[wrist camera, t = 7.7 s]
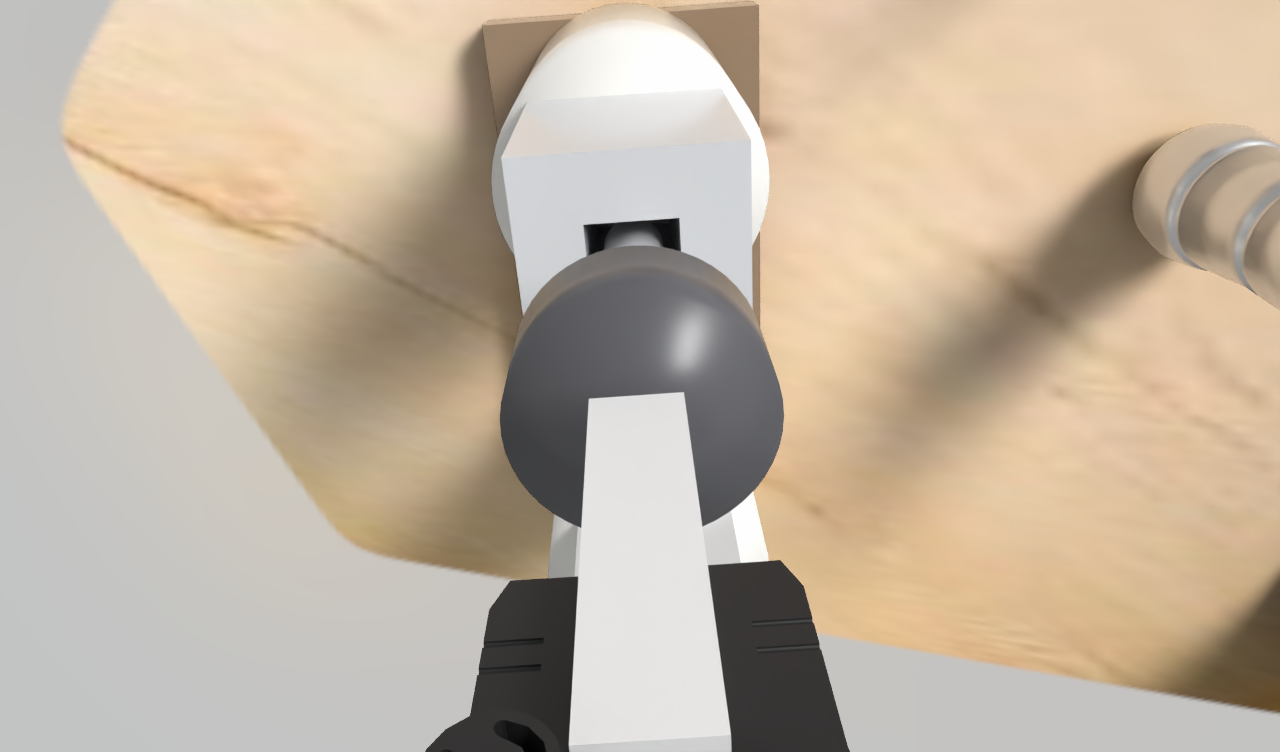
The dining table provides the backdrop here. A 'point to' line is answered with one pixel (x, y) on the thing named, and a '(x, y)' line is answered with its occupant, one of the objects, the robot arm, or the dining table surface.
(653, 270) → the plunger
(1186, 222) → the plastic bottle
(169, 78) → the dining table surface
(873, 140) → the dining table surface
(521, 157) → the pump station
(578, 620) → the robot arm
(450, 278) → the dining table surface
